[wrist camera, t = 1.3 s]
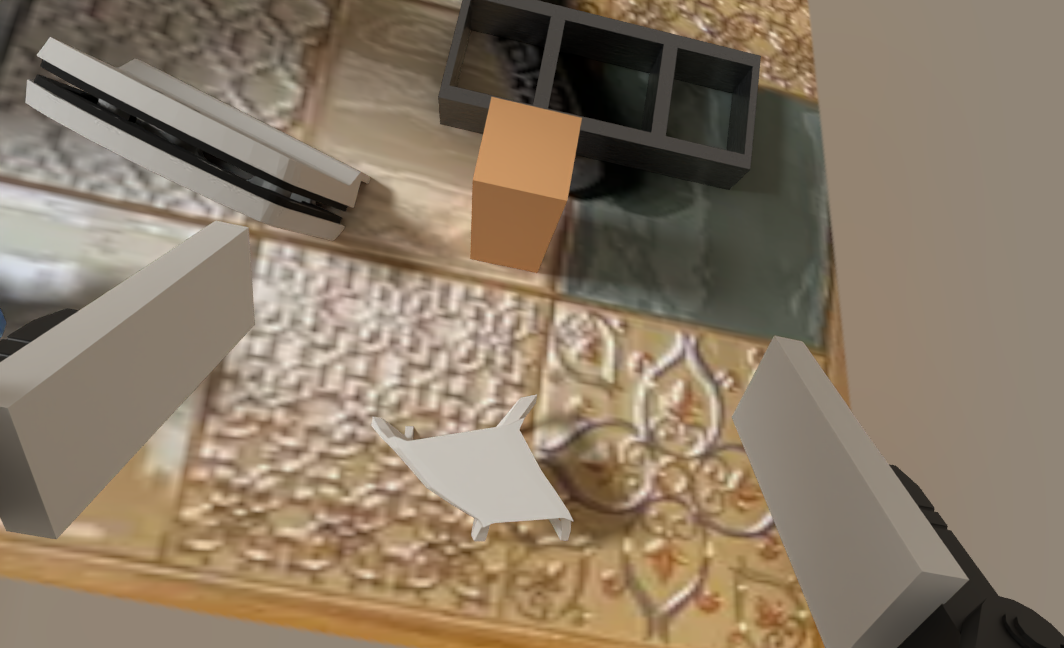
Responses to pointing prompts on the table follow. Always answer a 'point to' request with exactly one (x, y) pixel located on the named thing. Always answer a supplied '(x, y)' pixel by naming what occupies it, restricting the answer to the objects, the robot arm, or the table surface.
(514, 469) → the origami figure
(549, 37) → the grey compartment tray
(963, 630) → the robot arm
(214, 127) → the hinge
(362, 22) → the table surface
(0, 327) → the grapes
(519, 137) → the square peg
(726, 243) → the table surface
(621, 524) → the table surface
